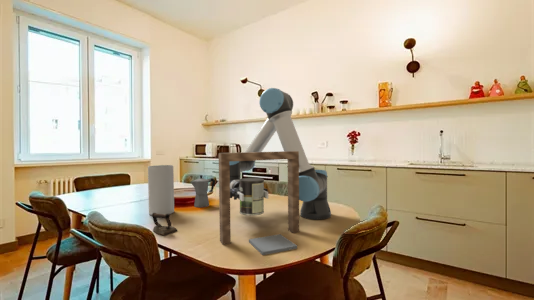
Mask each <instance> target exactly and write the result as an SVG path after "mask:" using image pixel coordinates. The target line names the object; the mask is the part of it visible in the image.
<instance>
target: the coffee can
mask: <svg viewBox="0 0 534 300" xmlns="http://www.w3.org/2000/svg"><path fill="white" fill-rule="evenodd" d="M239 181H240V193H242V194H244V201H241V200H239V214H240V215H242V216H247V217H249V216H250V217H251V216H260V215H262V214H264V213H265V211H264V209H265V206H264V205H265V203H264V200H265V198H264V188H265V187H264V186H265V185H264V183H265V178H261V177H244V178H241V179H239Z"/></svg>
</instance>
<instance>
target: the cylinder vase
mask: <svg viewBox="0 0 534 300" xmlns="http://www.w3.org/2000/svg"><path fill="white" fill-rule="evenodd" d="M174 180H175V178H174V165H173V164H172V165H171V164H161V165H148V166H147V182H148V183H147V186H148V187H147V188H148V214H149V215H150V216H152V214H153V213H157V214H169V215H171V214H173V213H174V212H175V186H174V185H175V184H174V182H175V181H174Z"/></svg>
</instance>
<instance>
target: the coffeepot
mask: <svg viewBox="0 0 534 300" xmlns="http://www.w3.org/2000/svg"><path fill="white" fill-rule="evenodd" d="M189 182H190V184H192V186H193V188H194V192H195V197H194V204H193V205H194V208H207V207H209V206H210V202H209V196H208V192H209V193H212V192H214V191H213V190H214V187H215V184H216V180H215V179H214V178H212V177H211V178H203V175H202V174H200V175H199V178H197V179H194V180H191V181H189ZM210 182H211V187H210V190H208V189H209V183H210Z"/></svg>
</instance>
